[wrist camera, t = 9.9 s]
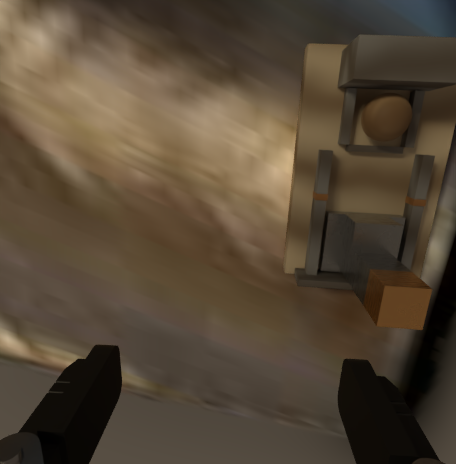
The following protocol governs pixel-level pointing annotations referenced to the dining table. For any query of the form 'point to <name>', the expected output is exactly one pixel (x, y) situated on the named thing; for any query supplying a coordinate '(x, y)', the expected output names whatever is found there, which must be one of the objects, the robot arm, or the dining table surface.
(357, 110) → the base
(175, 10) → the dining table surface
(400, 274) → the lever
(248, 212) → the dining table surface
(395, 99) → the walnut
